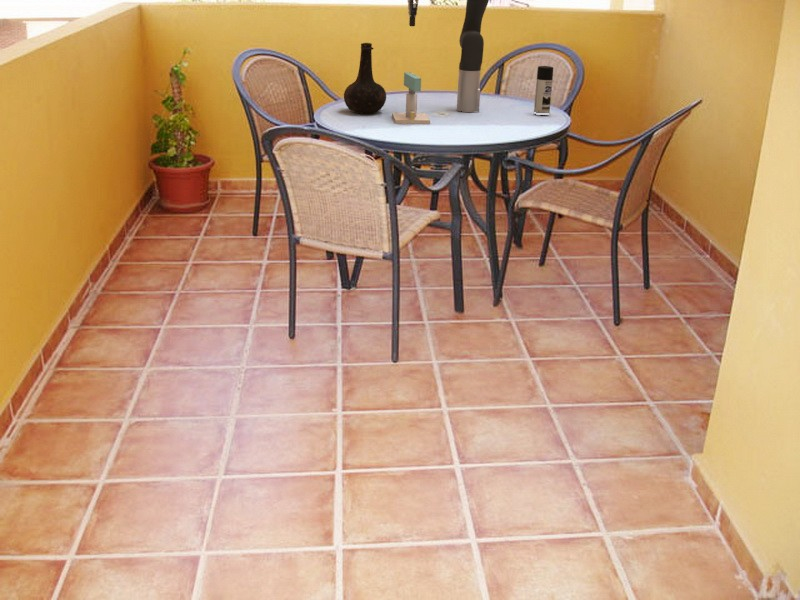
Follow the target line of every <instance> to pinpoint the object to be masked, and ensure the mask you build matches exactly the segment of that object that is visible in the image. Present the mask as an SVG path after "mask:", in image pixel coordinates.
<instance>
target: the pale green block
mask: <svg viewBox="0 0 800 600" xmlns="http://www.w3.org/2000/svg"><path fill="white" fill-rule="evenodd" d="M403 86H405V87H406V88H408V93H409V94H416V92H421V91H422V89H421V88H422V78H421V77H419V76H417V75H416V74H414V73H412V72H403Z"/></svg>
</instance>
